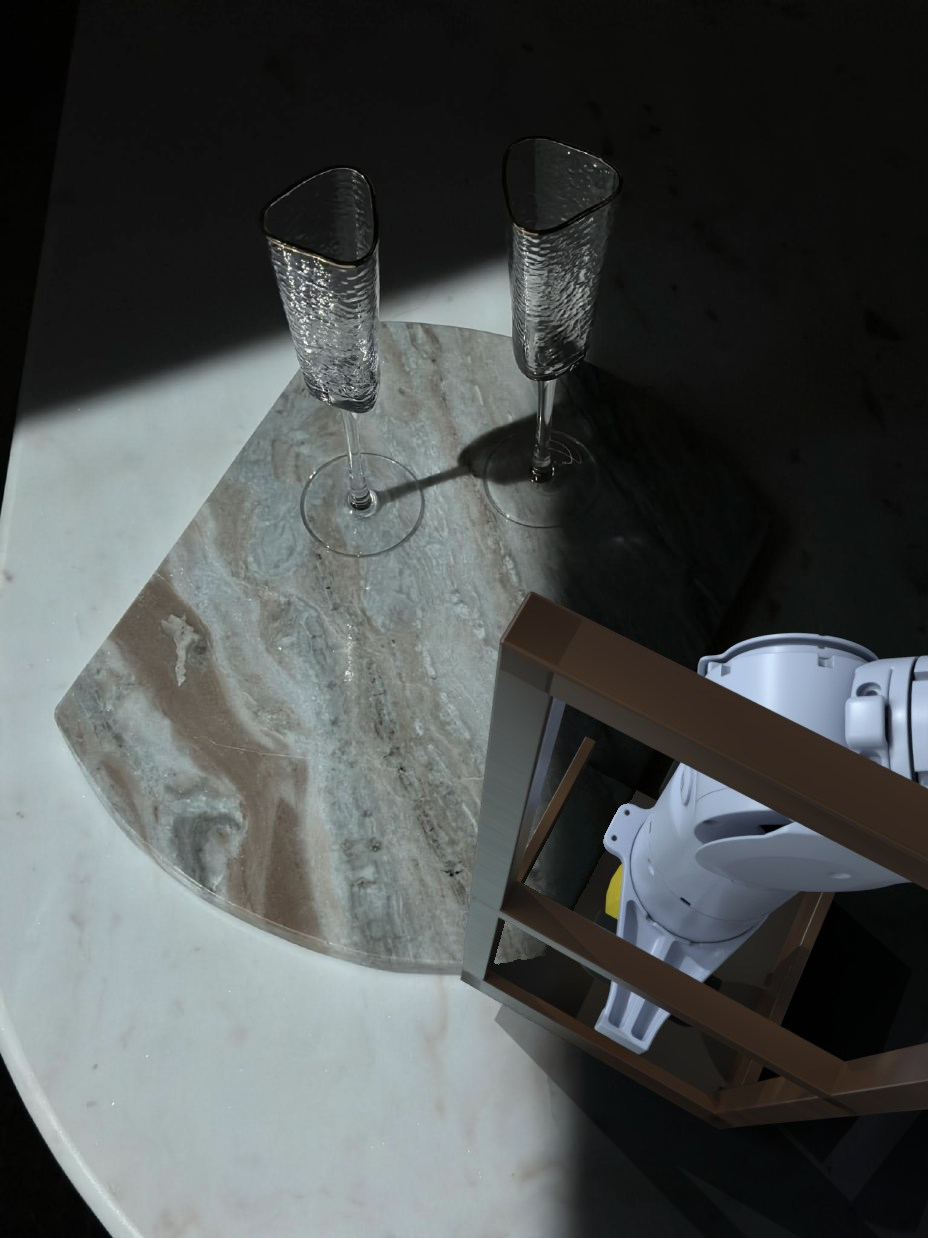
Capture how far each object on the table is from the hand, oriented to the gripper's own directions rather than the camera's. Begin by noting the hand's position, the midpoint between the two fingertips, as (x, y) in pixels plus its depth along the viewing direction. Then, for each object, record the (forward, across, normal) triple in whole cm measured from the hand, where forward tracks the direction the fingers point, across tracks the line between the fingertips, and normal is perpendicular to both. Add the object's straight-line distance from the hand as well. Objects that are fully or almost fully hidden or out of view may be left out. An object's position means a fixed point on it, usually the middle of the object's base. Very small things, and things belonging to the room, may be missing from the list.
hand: (662, 913), depth 54 cm
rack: (+5, 0, 0) cm, 5 cm away
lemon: (+3, 0, 0) cm, 3 cm away
